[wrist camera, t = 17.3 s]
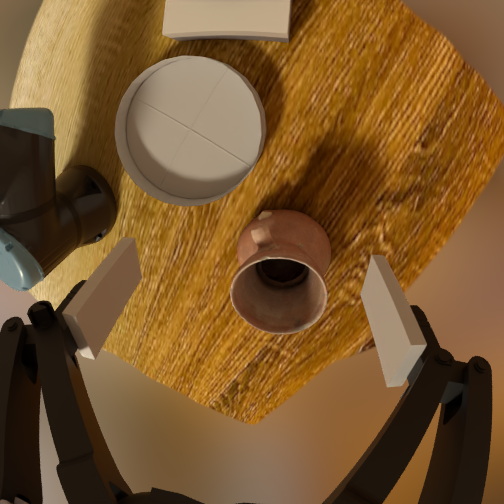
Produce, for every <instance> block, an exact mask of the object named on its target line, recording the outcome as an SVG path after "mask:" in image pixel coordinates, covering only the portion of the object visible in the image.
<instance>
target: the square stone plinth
mask: <svg viewBox="0 0 504 504" xmlns="http://www.w3.org/2000/svg"><path fill="white" fill-rule="evenodd" d="M292 2H293V0H166V4H165V12H164V21H163V30H162V35H165V36H167V37H170V38H172V39H175V40H177V41H188V40H212V39H239V40H264V41H278V42H289V37H290V26H291V14H292Z"/></svg>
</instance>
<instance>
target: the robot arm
mask: <svg viewBox="0 0 504 504" xmlns="http://www.w3.org/2000/svg"><path fill="white" fill-rule="evenodd" d="M55 140H56V137H55V136H54V116H53V113H52V112H51V111H50V110H49V109H47V108H14V109H0V279H1V280H2V281H3V282H4V283H5V284H7V285H8V286H9V287H11V288H13V289H15V290H18V291H27V290H29V289H31V288H32V287H33V286H35V285H36V284H37V283H38V282H40V281H42V280H43V279H44V278H45V277H46V276H47V275H48V274H49V273H50V272H51V271H52V270H53V269H54V268H55V267H56V266H57V265H59V264H60V263H61V262H62V261H63V260H64V259H65V258H66V257H67V256H68V255H69V254H71V253H72V252H73V251H74V250H75V249H76V248H79V247H83V246H86V245H90V244H93V243H96V242H98V241H100V240H101V239H103V238H104V237H105V236H106V235H107V234H108V233H109V232H110V231H111V230H112V228H113V226H114V223H115V219H116V203H115V198H114V195H113V192H112V190H111V188H110V186H109V184H108V183H107V181H106V180H105V179H104V178H103V176H102V175H101V174H99V173H98V172H97V171H96V170H94V169H92V168H90V167H87V166H74V167H72V168H70V169H67V170H65V171H64V172H62V173H61V174H60V175H59V176H58V177H57V178H56V179H55ZM141 279H142V276H141V270H140V265H139V260H138V254H137V248H136V242H135V238H126V237H123V238H122V239H121V240H120V242H119V243H118V244H117V245H116V246H115V247H114V248H113V250H112V251H111V252H110V253H109V254H108V255H107V257H106V258H105V259H104V260H103V261H102V263H101V264H100V265H99V266H98V267H97V269H96V270H95V271H94V272H93V274H92V275H91V276H90V277H89V278H88V280H82V281H81V282H79V283H78V284H76V285H75V286H74V287H73V289H72V290H71V291H70V293H69V294H68V295H67V296H66V298H65V299H64V300H63V301H62V303H61V304H60V305H59V306H58V308H57V309H56V310H55V312H54V309H53V307H52V305H51V303H50V302H49V301H44V300H43V301H39V302H37V303H35V304H33V305H32V306H31V307H30V308H29V310H28V313H27V315H28V317H29V319H30V321H31V323H32V325H24V323H23V321H22V319H21V318H19V317H12V318H10V319H8V320H7V321H6V322H5V323H4V324H3V326H2V328H1V332H0V504H42V502H43V497H42V483H41V470H40V452H39V414H40V394H41V393H40V392H41V388H42V393H43V399H44V404H45V408H46V413H47V417H48V422H49V425H50V430H51V433H52V437H53V441H54V444H55V448H56V451H57V454H58V457H59V464H58V465H57V474H58V477H59V480H60V483H61V485H62V488H63V490H64V493H65V496H66V499H67V501H68V503H69V504H204V503H201V502H199V501H196V500H194V499H192V498H189V497H187V496H185V495H182V494H179V493H174V492H170V491H165V490H161V489H157V488H152V490H151V492H141V493H136V494H133V493H132V491H131V489H130V488H129V486H128V485H127V483H126V482H125V481H124V479H123V478H122V476H121V474H120V472H119V470H118V468H117V466H116V464H115V462H114V460H113V458H112V456H111V453H110V451H109V449H108V446H107V444H106V442H105V439H104V437H103V435H102V432H101V430H100V427H99V424H98V422H97V419H96V416H95V414H94V411H93V408H92V406H91V402H90V399H89V397H88V394H87V390H86V388H85V385H84V381H83V378H82V374H81V371H80V368H79V364H78V360H77V357H76V355H75V352H76V351H77V349H79V351H80V353H81V355H82V356H83V357H87V358H90V359H94V360H95V359H96V357H97V355H98V353H99V352H100V350H101V348H102V346H103V344H104V342H105V341H106V339H107V337H108V335H109V333H110V332H111V330H112V328H113V326H114V324H115V323H116V321H117V319H118V317H119V316H120V314H121V312H122V311H123V309H124V307H125V305H126V304H127V302H128V300H129V299H130V297H131V295H132V294H133V292H134V290H135V289H136V287H137V285H138V284H139V282H140V280H141ZM361 298H362V301H363V304H364V307H365V310H366V314H367V317H368V320H369V323H370V327H371V330H372V334H373V337H374V340H375V344H376V347H377V351H378V355H379V358H380V362H381V366H382V369H383V373H384V377H385V381H386V385H387V387H393V386H402V385H403V383H404V382H405V380H406V379H408V382H409V386H408V387H407V389H406V390H405V392H404V393H403V395H402V396H401V397H400V398H401V399H400V401H399V403H398V404H397V406H396V407H395V409H394V411H393V412H392V414H391V415H390V417H389V418H388V420H387V422H386V423H385V425H384V426H383V428H382V429H381V430H380V432H379V433H378V435H377V436H376V438H375V439H374V441H373V442H372V444H371V445H370V446H369V447H368V449H367V450H366V452H365V453H364V454H363V456H362V457H361V458H360V459H359V461H358V462H357V463H356V465H355V466H354V467H353V469H352V470H351V471H350V472H349V473H348V475H347V476H346V477H345V478H344V479H343V481H342V482H341V483H340V484H339V485H338V486H337V488H336V489H335V490H334V491H333V492H332V493H331V495H330V496H329V497H328V498H327V499H326V500H325V501H324V502H323V503H322V504H382V503H383V502H384V500H385V498H386V497H387V496H388V494H389V493H390V491H391V490H392V489H393V487H394V486H395V484H396V483H397V481H398V479H399V478H400V476H401V475H402V473H403V472H404V470H405V468H406V467H407V465H408V463H409V462H410V460H411V458H412V456H413V455H414V453H415V451H416V449H417V448H418V446H419V444H420V442H421V440H422V438H423V436H424V434H425V432H426V430H427V429H428V427H429V424H430V422H431V420H432V418H433V416H434V414H435V412H436V410H437V407H438V405H439V403H442V404H441V411H440V417H439V423H438V429H437V434H436V438H435V443H434V448H433V452H432V456H431V460H430V464H429V469H428V472H427V475H426V479H425V483H424V486H423V489H422V492H421V495H420V498H419V502H418V504H481V502H482V498H483V493H484V487H485V481H486V476H487V469H488V460H489V452H490V441H491V428H492V370H491V366H490V364H489V363H488V361H486V360H485V359H484V358H482V357H480V356H474V357H472V358H471V359H470V360H469V362H468V363H465V362H460V361H455V360H454V357H453V356H452V354H451V353H450V352H448V351H447V350H445V349H442V348H440V345H439V343H438V341H437V339H436V337H435V335H434V332H433V330H432V328H430V324H429V322H428V321H427V318H426V316H425V314H424V312H423V311H422V310H421V309H420V308H419V307H418V306H417V305H409V303H408V301H407V299H406V297H405V295H404V293H403V291H402V289H401V287H400V285H399V283H398V281H397V279H396V277H395V275H394V273H393V271H392V269H391V267H390V265H389V264H388V262H387V260H386V258H385V256H381V255H372V256H371V260H370V263H369V267H368V271H367V274H366V278H365V281H364V285H363V288H362V291H361ZM238 504H254V503H238Z"/></svg>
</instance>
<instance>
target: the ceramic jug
mask: <svg viewBox="0 0 504 504" xmlns="http://www.w3.org/2000/svg"><path fill="white" fill-rule="evenodd" d="M237 257H238V261H239V265H240V268H239V269H238V271H237V272H236V274H235V276H234V279H233V281H232V284H231V289H230V296H231V301H232V305H233V307H234V309H235V310H236V311H237V313H238V314H239V316H240V317H241V318H243V319H244V320H245V321H246V322H247V323H248V324H250V325H252V326H253V327H255V328H257V329H259V330H261V331H264V332H267V333H271V334H292V333H296V332H300V331H302V330H304V329H306V328H308V327H310V326H311V325H313V324H314V323H315V322H316V321H317V320H318V319H319V318H320V317H321V315H322V314H323V312H324V310H325V307H326V304H327V298H328V293H327V286H326V283H325V279H324V277H323V276H324V275H325V274H326V272H327V270H328V268H329V265H330V261H331V245H330V241H329V238H328V236H327V234H326V232H325V231H324V229H323V228H322V227H321V226H320V225H319V224H318V223H317V222H316V221H315V220H314V219H312V218H311V217H310V216H308V215H306V214H304V213H301V212H298V211H295V210H287V209H281V210H263V211H262V212H261V214H260V215H259V216H257V217H256V218H254V219H253V220H252V221H251V222H249V223H248V225H247V226H246V227H245V228H244V230H243V231H242V233H241V235H240V237H239V240H238V245H237Z"/></svg>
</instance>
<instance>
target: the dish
mask: <svg viewBox="0 0 504 504" xmlns="http://www.w3.org/2000/svg"><path fill="white" fill-rule="evenodd" d="M266 132H267V131H266V118H265V110H264V108H263V105H262V102H261V100H260V97H259V95H258V93H257V91H256V90H255V89H254V87H253V86H252V85H251V83H250V82H249V81H248V79H247V78H246V77H244V76H243V75H242V74H240V73H239V72H238V71H236V70H235V69H234V68H232V67H231V66H230V65H228V64H225V63H223V62H220V61H217V60H214V59H212V58H206V57H199V56H178V57H174V58H169V59H165V60H162V61H160V62H158V63H156V64H155V65H153V66H151V67H149V68H147V69H146V70H145V71H144V72H142V73H141V74H140V75H139V76H138V77H137V78H136V79H135V80H134V81H133V82H132V83H131V85H130V86H129V88H128V89H127V91H126V92H125V94H124V96H123V97H122V99H121V102H120V105H119V108H118V111H117V114H116V121H115V141H116V147H117V153H118V155H119V157H120V160H121V162H122V164H123V167H124V169H125V170H126V172H127V173H128V174H129V176H130V177H131V179H132V180H133V181H134V183H135V184H136V185H138V186H139V187H140V188H141V189H142V190H144V191H145V192H146V193H147V194H148V195H150V196H152V197H154V198H156V199H158V200H160V201H163V202H165V203H169V204H174V205H179V206H198V205H204V204H207V203H210V202H213V201H216V200H219V199H220V198H222V197H223V196H225V195H226V194H228V193H229V192H231V191H233V190H234V189H235V188H236V187H237V186H238V185H239V184H240V183H241V182H242V181H243V180H244V179H245V178H246V177H247V176H248V175H249V173H250V172H251V171H252V170H253V169H254V167H255V165H256V163H257V161H258V159H259V157H260V155H261V153H262V151H263V147H264V142H265V137H266Z"/></svg>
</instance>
